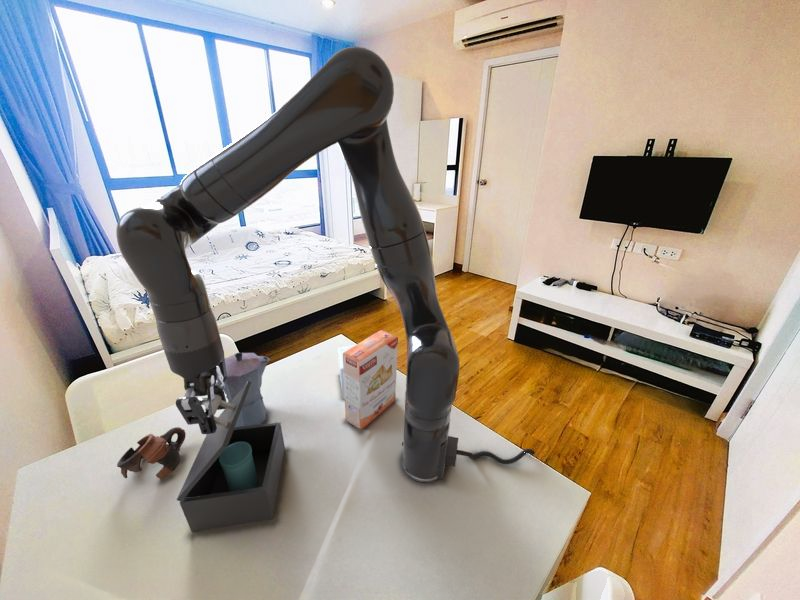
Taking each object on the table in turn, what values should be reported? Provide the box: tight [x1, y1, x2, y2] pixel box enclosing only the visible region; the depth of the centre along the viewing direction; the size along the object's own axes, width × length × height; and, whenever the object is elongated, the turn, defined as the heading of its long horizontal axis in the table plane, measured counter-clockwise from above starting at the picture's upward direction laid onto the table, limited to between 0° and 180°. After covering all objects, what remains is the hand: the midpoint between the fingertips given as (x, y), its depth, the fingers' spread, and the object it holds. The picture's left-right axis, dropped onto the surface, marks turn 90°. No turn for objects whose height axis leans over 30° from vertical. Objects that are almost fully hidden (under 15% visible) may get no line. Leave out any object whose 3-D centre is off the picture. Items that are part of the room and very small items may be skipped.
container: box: [219, 442, 258, 491], centre depth 62 cm, size 6×6×9 cm
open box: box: [179, 421, 286, 533], centre depth 63 cm, size 14×16×9 cm
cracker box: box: [343, 329, 399, 430], centre depth 80 cm, size 14×6×21 cm, turn 143°
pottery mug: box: [116, 426, 187, 480], centre depth 68 cm, size 12×10×8 cm
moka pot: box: [220, 352, 271, 427], centre depth 76 cm, size 10×15×20 cm, turn 124°
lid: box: [176, 381, 251, 502], centre depth 57 cm, size 14×16×5 cm
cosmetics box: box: [337, 344, 356, 399], centre depth 92 cm, size 10×6×10 cm, turn 14°
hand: (215, 419), depth 57 cm, fingers closed on lid, 5 cm apart
